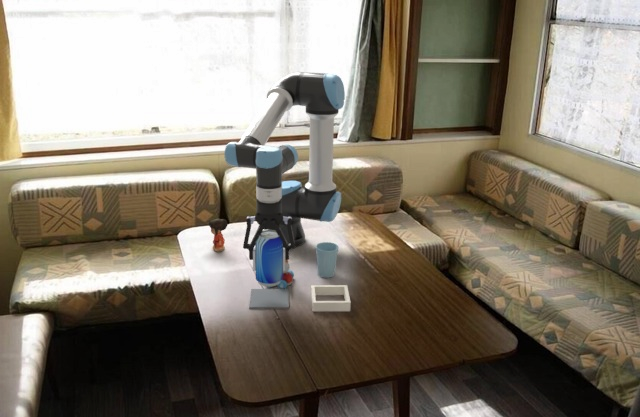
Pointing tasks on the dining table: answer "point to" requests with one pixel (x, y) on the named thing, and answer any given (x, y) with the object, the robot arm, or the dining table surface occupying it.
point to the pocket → (330, 304)
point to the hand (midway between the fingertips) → (269, 268)
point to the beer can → (269, 258)
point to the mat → (269, 299)
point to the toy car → (285, 277)
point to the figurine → (218, 233)
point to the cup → (326, 258)
